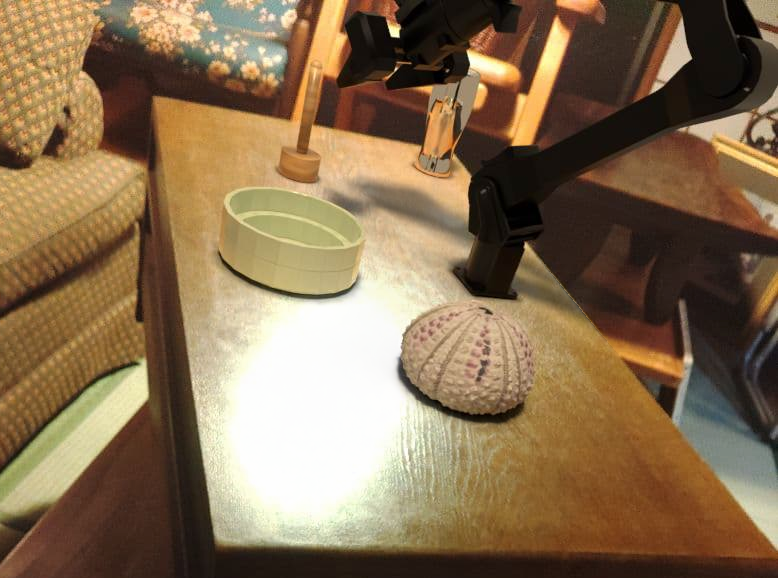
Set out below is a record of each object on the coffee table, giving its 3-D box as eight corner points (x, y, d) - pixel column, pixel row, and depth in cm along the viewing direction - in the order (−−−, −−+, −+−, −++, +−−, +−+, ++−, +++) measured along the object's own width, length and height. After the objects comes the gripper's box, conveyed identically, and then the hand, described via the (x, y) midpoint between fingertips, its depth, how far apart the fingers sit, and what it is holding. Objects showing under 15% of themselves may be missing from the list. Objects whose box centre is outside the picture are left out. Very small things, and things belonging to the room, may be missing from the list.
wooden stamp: (321, 185, 104) (343, 70, 95) (283, 179, 102) (302, 61, 93) (311, 170, 108) (331, 58, 99) (274, 164, 106) (291, 49, 96)
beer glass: (449, 182, 121) (480, 79, 111) (408, 168, 121) (436, 64, 111) (454, 171, 126) (484, 72, 116) (415, 158, 126) (442, 58, 116)
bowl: (372, 304, 80) (385, 255, 77) (233, 293, 74) (240, 239, 71) (332, 243, 90) (342, 197, 87) (207, 228, 84) (212, 178, 81)
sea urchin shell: (548, 402, 74) (582, 330, 69) (472, 443, 65) (505, 363, 60) (447, 338, 79) (472, 266, 74) (364, 367, 70) (386, 287, 65)
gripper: (484, -54, 86) (390, 23, 98) (380, -82, 74) (287, 9, 85) (511, 48, 89) (416, 111, 100) (414, 37, 76) (319, 111, 88)
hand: (363, 85), depth 93 cm, fingers open, 9 cm apart
